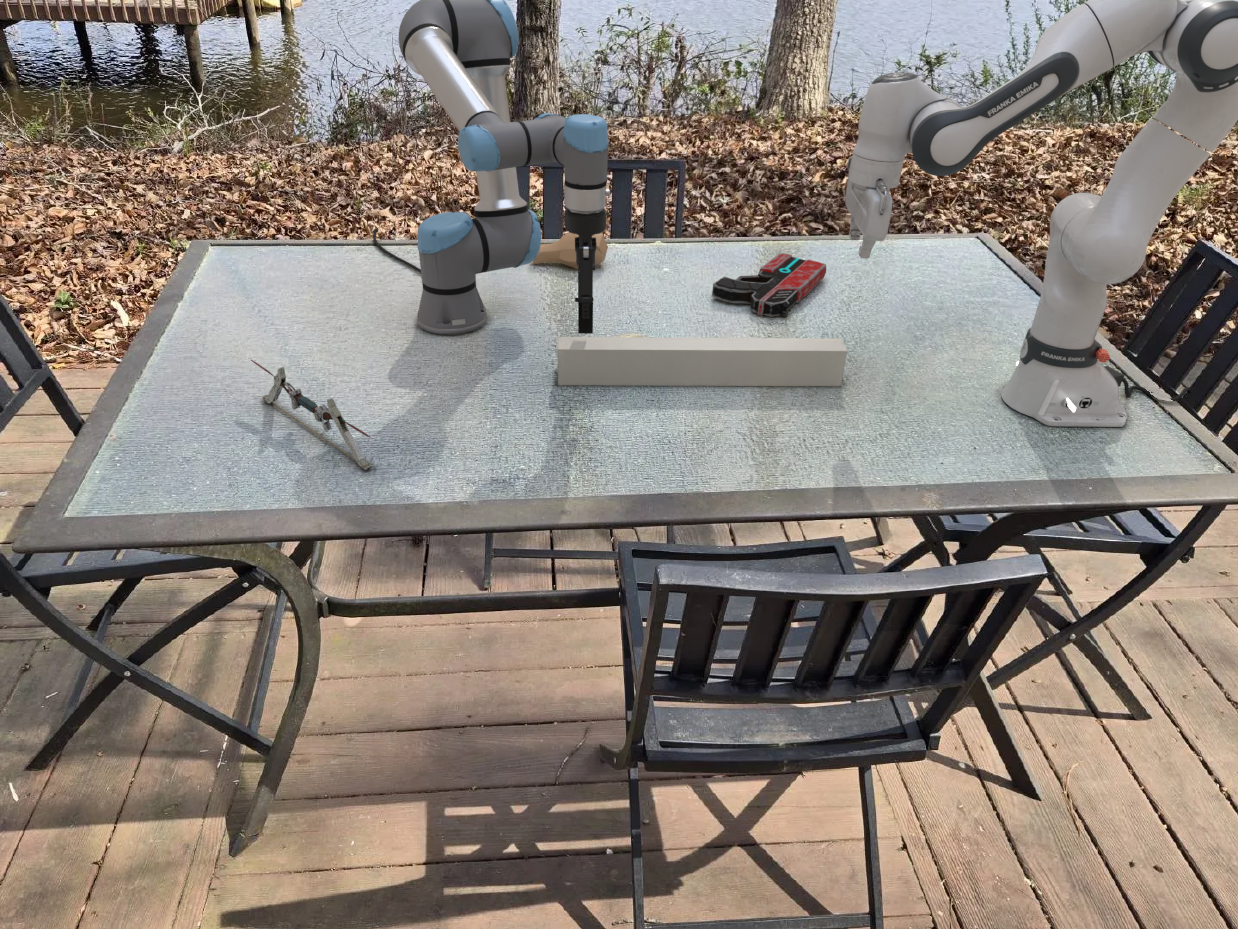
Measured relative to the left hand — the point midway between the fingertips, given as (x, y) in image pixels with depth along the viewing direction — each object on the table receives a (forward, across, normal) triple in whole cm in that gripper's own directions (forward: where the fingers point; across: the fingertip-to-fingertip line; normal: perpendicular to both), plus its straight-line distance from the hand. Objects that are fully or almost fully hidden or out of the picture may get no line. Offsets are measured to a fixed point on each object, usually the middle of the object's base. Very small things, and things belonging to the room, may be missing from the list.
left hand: (585, 317), depth 169 cm
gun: (+13, +46, -46) cm, 66 cm away
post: (+13, 0, -23) cm, 27 cm away
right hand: (-15, -1, -50) cm, 53 cm away
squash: (+13, +62, +4) cm, 64 cm away
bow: (+13, -21, +48) cm, 54 cm away
